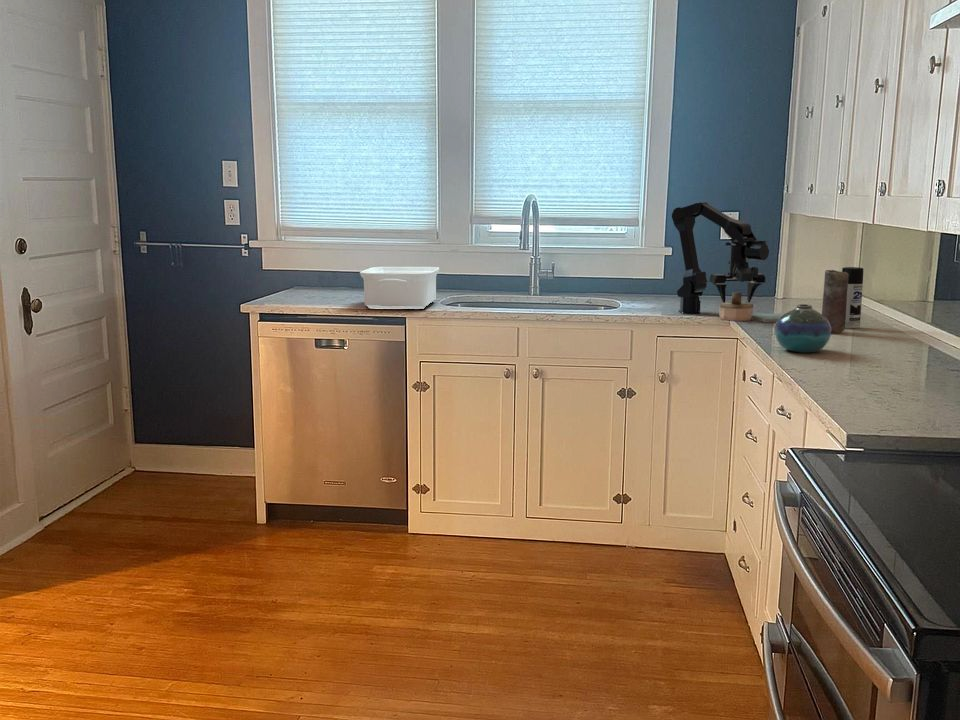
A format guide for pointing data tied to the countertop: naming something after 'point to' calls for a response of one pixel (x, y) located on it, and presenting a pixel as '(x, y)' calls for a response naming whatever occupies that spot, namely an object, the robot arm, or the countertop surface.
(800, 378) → the countertop surface
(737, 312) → the bowl
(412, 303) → the white storage tub
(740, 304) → the lid
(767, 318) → the mat
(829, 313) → the candle
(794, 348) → the vase
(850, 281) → the spray can
